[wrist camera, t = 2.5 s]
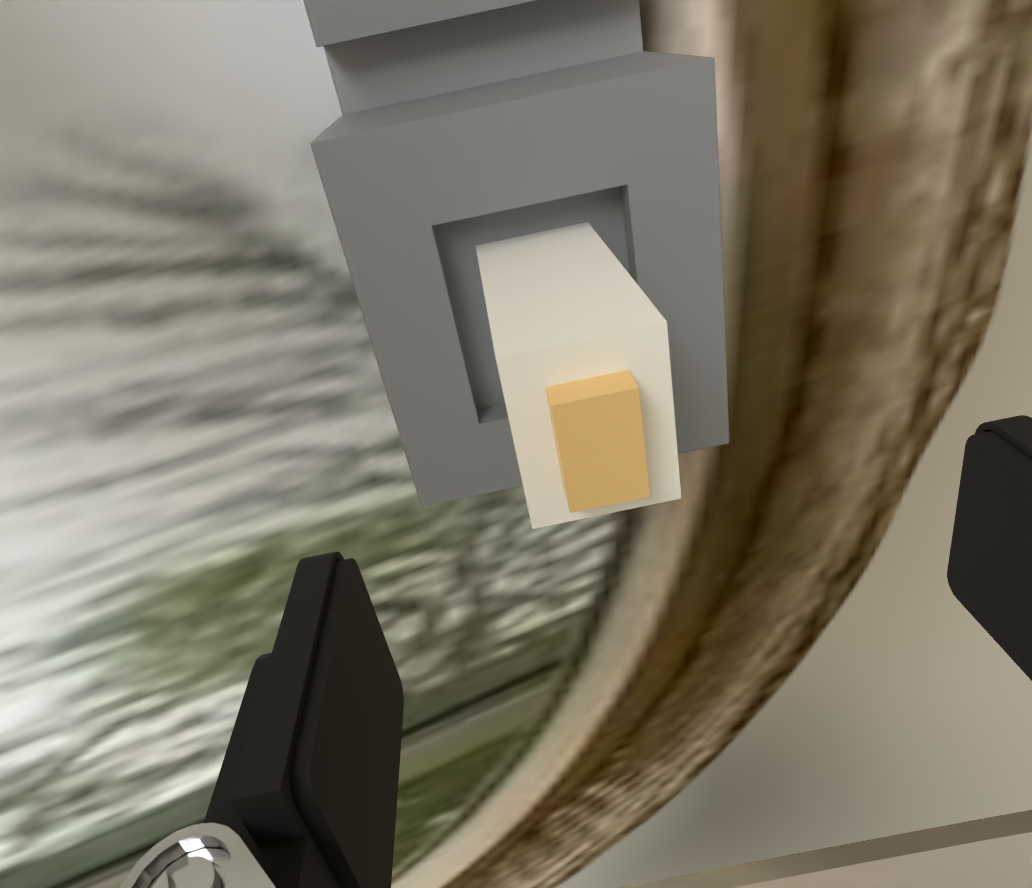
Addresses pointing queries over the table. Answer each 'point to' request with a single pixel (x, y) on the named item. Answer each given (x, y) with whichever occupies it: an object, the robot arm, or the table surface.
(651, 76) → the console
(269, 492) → the table surface
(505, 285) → the plug
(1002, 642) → the robot arm
